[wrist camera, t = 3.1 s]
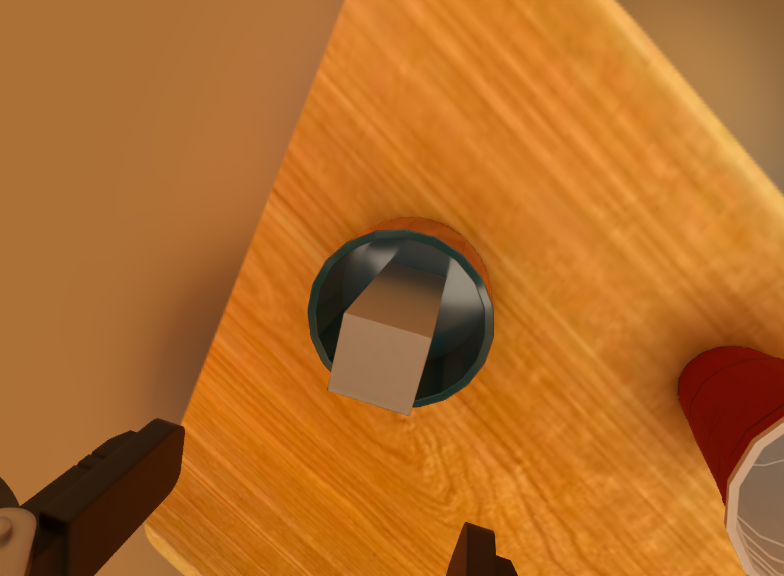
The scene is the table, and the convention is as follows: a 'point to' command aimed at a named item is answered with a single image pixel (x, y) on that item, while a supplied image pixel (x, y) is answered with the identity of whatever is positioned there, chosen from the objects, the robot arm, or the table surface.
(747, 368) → the plastic cup
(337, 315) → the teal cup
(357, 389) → the block
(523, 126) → the table surface
